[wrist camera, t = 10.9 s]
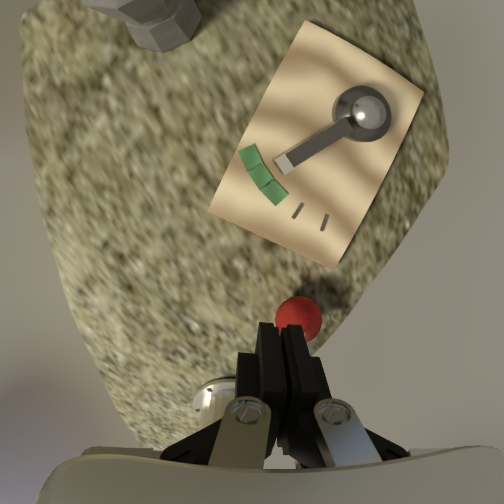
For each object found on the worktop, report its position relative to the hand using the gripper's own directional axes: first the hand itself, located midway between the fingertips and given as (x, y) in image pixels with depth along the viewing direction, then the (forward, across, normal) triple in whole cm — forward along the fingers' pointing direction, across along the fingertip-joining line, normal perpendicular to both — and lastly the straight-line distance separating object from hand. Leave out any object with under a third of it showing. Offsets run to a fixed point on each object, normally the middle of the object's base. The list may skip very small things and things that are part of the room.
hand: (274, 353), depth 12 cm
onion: (+27, -6, +12) cm, 30 cm away
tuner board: (+27, -7, -9) cm, 29 cm away
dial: (+25, -7, -11) cm, 28 cm away
